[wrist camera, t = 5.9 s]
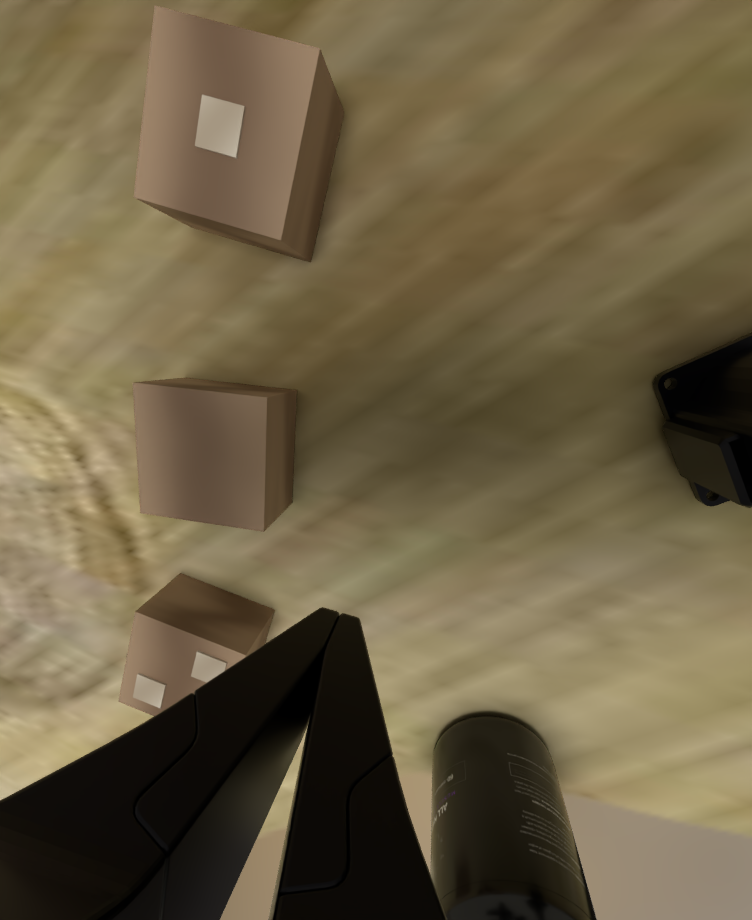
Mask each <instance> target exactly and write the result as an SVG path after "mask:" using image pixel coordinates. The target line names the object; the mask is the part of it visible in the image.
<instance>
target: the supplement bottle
mask: <svg viewBox="0 0 752 920" xmlns="http://www.w3.org/2000/svg"><path fill="white" fill-rule="evenodd" d="M431 825H432V826H431V877H432V880H433V883H434V886H435V888H436V891H437V894H438V896H439V899H440V902H441V905H442V907H443V910H444V913H445V915H446V918H447V920H597V919H596V916H595V912H594V908H593V905H592V901H591V898H590V894H589V890H588V887H587V883H586V880H585V876H584V873H583V868H582V865H581V861H580V858H579V854H578V851H577V847H576V843H575V839H574V836H573V832H572V829H571V825H570V821H569V818H568V814H567V810H566V807H565V803H564V799H563V796H562V792H561V789H560V785H559V781H558V778H557V775H556V771H555V768H554V764H553V761H552V758H551V756H550V754H549V752H548V750H547V748H546V747H545V745H544V744H543V742H542V741H541V740H540V739H539V738H538V737H537V736H536V735H535V734H534V733H533V732H531V731H530V730H529V729H527V728H526V727H524V726H522V725H521V724H519V723H516V722H514V721H512V720H509V719H505V718H501V717H494V716H478V717H472V718H468V719H465V720H462V721H460V722H458V723H456V724H454V725H453V726H451V727H450V728H449V729H448V730H447V731H446V732H445V733H444V734H443V735H442V736H441V738H440V739H439V741H438V742H437V745H436V747H435V750H434V755H433V770H432V824H431Z"/></svg>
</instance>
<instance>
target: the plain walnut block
mask: <svg viewBox="0 0 752 920" xmlns="http://www.w3.org/2000/svg"><path fill="white" fill-rule="evenodd" d="M133 395H134V412H135V429H136V446H137V464H138V481H139V498H140V513H143V514H150V515H156V516H163V517H170V518H176V519H183V520H190V521H196V522H203V523H210V524H216V525H223V526H230V527H236V528H243V529H249V530H256V531H263V532H264V531H265V530H266V529H267V528H268V527H269V526H270V525H271V524H272V523H273V522H274V521H275V520H276V519H277V518H278V517H279V516H280V515H281V514H282V513H283V512H284V511H285V510H286V509H287V507H288V506H289V505H290V504H291V503H292V497H293V474H294V450H295V426H296V402H297V390H292V389H282V388H273V387H264V386H255V385H246V384H237V383H228V382H218V381H209V380H200V379H191V378H177V379H166V380H155V381H144V382H133Z"/></svg>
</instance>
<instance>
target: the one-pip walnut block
mask: <svg viewBox="0 0 752 920" xmlns="http://www.w3.org/2000/svg"><path fill="white" fill-rule="evenodd" d="M343 117H344V110H343V107H342V105H341V102H340V100H339V97H338V94H337V92H336V89H335V86H334V84H333V81H332V79H331V76H330V73H329V71H328V68H327V66H326V63H325V60H324V58H323V55H322V52H321V50H320V48H317V47H313V46H309V45H305V44H301V43H297V42H294V41H290V40H286V39H282V38H278V37H274V36H271V35H267V34H263V33H259V32H255V31H251V30H248V29H244V28H240V27H236V26H232V25H228V24H224V23H221V22H217V21H213V20H209V19H205V18H201V17H198V16H194V15H190V14H186V13H182V12H178V11H175V10H171V9H167V8H163V7H159V6H155V8H154V17H153V26H152V35H151V44H150V54H149V63H148V72H147V81H146V90H145V99H144V108H143V118H142V127H141V136H140V145H139V154H138V163H137V172H136V182H135V191H134V198H136V199H138V200H140V201H142V202H144V203H146V204H148V205H150V206H152V207H153V208H155V209H157V210H159V211H161V212H163V213H165V214H167V215H169V216H171V217H173V218H175V219H176V220H178V221H180V222H182V223H184V224H186V225H188V226H190V227H193V228H196V229H199V230H203V231H206V232H210V233H213V234H216V235H220V236H223V237H227V238H230V239H233V240H237V241H240V242H243V243H247V244H250V245H254V246H257V247H260V248H264V249H267V250H271V251H274V252H277V253H281V254H284V255H288V256H291V257H294V258H298V259H301V260H305V261H308V262H311V259H312V255H313V250H314V246H315V241H316V237H317V232H318V228H319V224H320V219H321V215H322V210H323V206H324V201H325V197H326V192H327V188H328V183H329V179H330V175H331V170H332V166H333V161H334V157H335V152H336V148H337V143H338V139H339V134H340V130H341V126H342V121H343Z"/></svg>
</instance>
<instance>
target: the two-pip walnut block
mask: <svg viewBox="0 0 752 920" xmlns="http://www.w3.org/2000/svg"><path fill="white" fill-rule="evenodd" d="M274 612H275V610H274V609H272V608H269V607H267V606H264V605H261V604H259V603H256V602H254V601H251V600H248V599H246V598H243V597H241V596H238V595H235V594H233V593H230V592H228V591H225V590H223V589H220V588H217V587H215V586H212V585H210V584H207V583H204V582H202V581H199V580H197V579H194V578H191V577H189V576H186V575H184V574H181V573H180V574H179V575H178V576H177V577H176V578H174V579H173V580H172V581H171V582H170V583H168V584H167V585H166V586H165V587H164V588H163V589H161V590H160V591H159V592H158V593H157V594H155V595H154V596H153V597H152V598H151V599H150V600H148V601H147V602H146V603H145V604H144V605H142V606H141V607H140V608H139V609H138V610H137V611H135V615H134V621H133V626H132V632H131V637H130V642H129V648H128V653H127V658H126V664H125V669H124V674H123V680H122V685H121V690H120V696H119V702H121V703H123V704H126V705H128V706H131V707H133V708H136V709H138V710H141V711H143V712H145V713H148V714H150V715H153V716H156V715H157V714H159V713H160V712H162V711H164V710H165V709H167V708H168V707H170V706H172V705H173V704H175V703H176V702H178V701H179V700H181V699H182V698H184V697H185V696H187V695H188V694H190V693H193V694H194V691H195V690H196V689H198V688H199V687H201V686H202V685H204V684H205V683H207V682H209V681H210V680H212V679H213V678H215V677H216V676H218V675H219V674H221V673H222V672H224V671H225V670H227V669H228V668H230V667H231V666H233V665H234V664H236V663H237V662H239V661H240V660H242V659H243V658H245V657H246V656H248V655H249V654H251V653H253V652H254V651H256V650H257V649H259V648H260V647H262V646H263V645H265V641H266V638H267V635H268V631H269V628H270V625H271V621H272V618H273V615H274Z"/></svg>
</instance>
